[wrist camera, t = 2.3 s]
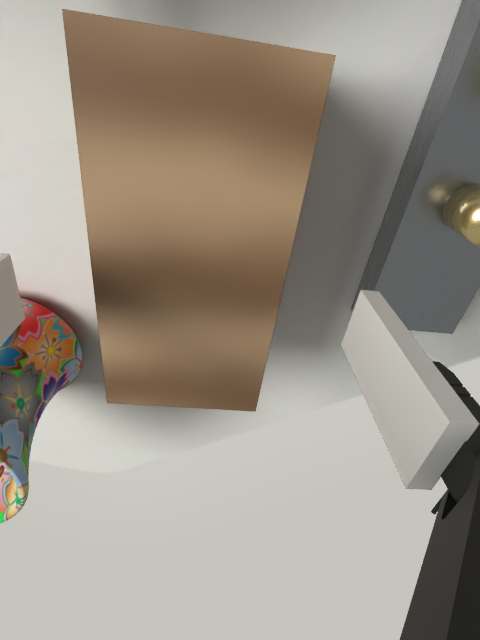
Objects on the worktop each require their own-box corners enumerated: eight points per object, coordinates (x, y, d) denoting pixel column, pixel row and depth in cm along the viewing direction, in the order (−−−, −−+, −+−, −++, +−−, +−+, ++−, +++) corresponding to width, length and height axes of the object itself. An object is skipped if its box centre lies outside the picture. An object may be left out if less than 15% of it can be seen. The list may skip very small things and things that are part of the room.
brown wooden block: (120, 34, 16) (62, 8, 10) (296, 63, 17) (335, 55, 11) (133, 326, 25) (107, 402, 19) (247, 335, 25) (255, 411, 20)
